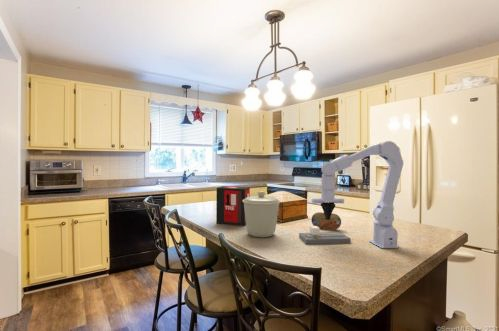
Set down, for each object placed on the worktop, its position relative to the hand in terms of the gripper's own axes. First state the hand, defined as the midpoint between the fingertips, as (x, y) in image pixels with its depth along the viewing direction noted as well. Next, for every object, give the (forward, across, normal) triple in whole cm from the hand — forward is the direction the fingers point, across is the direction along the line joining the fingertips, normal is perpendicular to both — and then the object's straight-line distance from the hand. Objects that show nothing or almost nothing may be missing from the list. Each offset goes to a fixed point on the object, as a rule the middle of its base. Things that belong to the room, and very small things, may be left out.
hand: (327, 219), depth 120 cm
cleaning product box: (+10, +40, -35) cm, 54 cm away
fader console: (+9, +2, 0) cm, 9 cm away
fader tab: (+7, +6, 0) cm, 9 cm away
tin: (+10, -8, -19) cm, 23 cm away
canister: (+10, +28, -11) cm, 32 cm away
